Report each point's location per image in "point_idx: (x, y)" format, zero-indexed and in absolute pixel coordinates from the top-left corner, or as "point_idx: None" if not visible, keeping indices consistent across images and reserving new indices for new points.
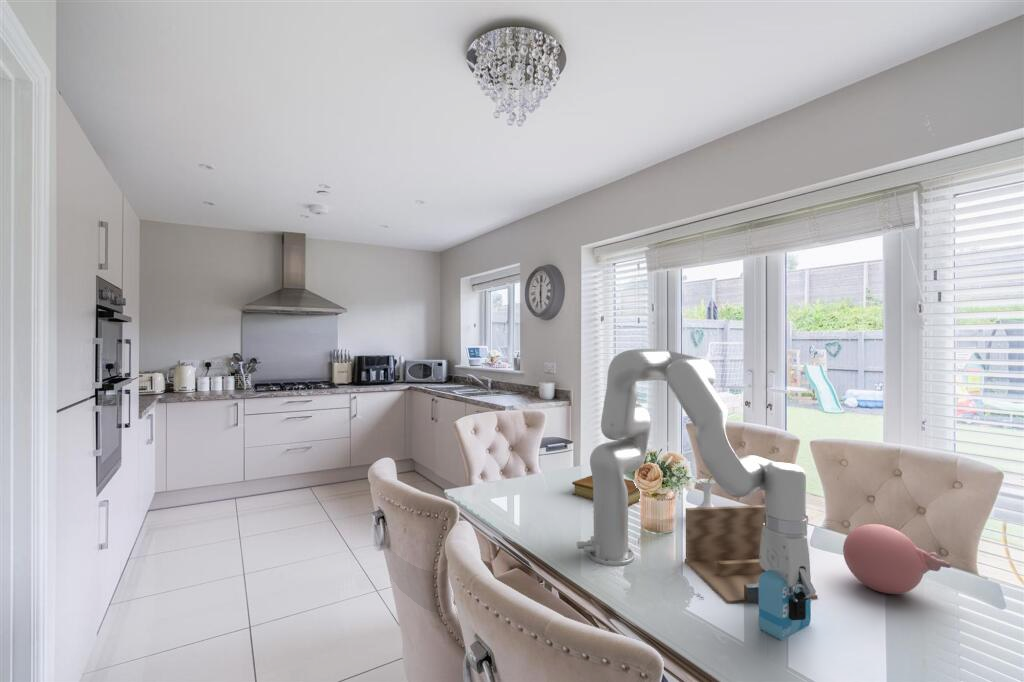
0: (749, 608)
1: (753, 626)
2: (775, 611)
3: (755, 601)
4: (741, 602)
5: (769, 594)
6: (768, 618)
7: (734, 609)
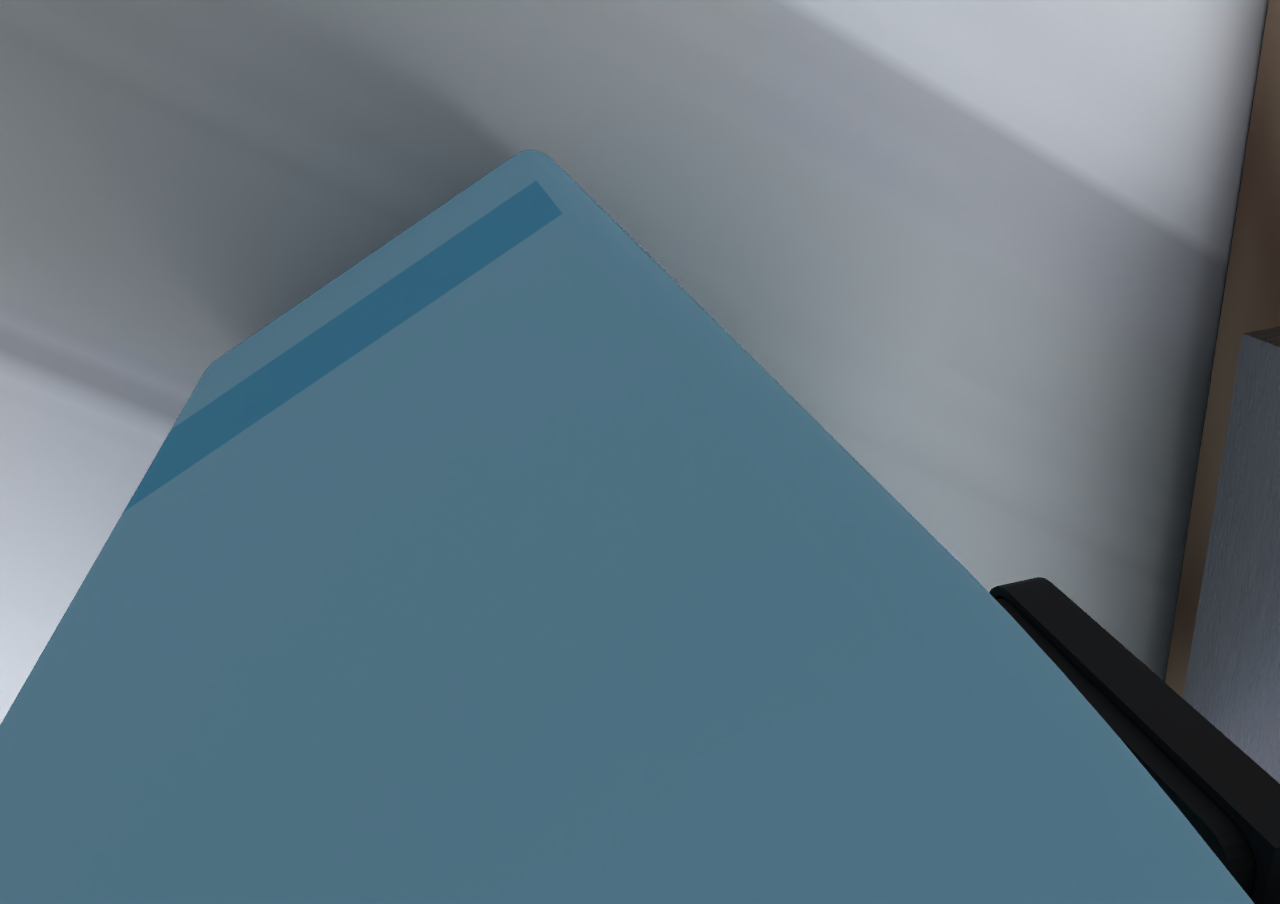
0: (1122, 299)
1: (682, 126)
2: (163, 519)
3: (1222, 448)
4: (1257, 231)
5: (265, 679)
6: (354, 313)
7: (1149, 36)
